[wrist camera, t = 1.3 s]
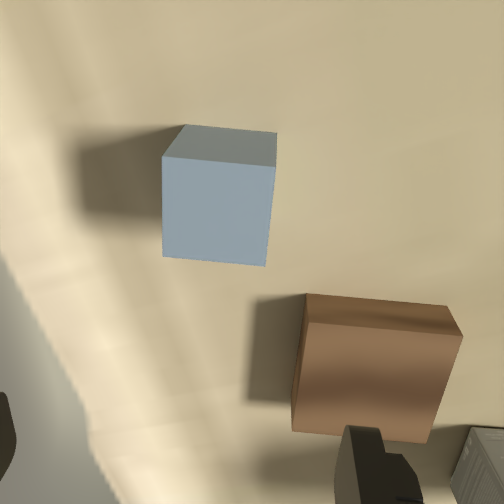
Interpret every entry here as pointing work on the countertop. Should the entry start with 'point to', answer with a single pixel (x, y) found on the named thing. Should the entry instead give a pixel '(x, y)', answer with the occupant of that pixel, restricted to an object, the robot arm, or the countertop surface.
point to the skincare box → (480, 468)
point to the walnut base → (372, 366)
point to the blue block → (218, 194)
